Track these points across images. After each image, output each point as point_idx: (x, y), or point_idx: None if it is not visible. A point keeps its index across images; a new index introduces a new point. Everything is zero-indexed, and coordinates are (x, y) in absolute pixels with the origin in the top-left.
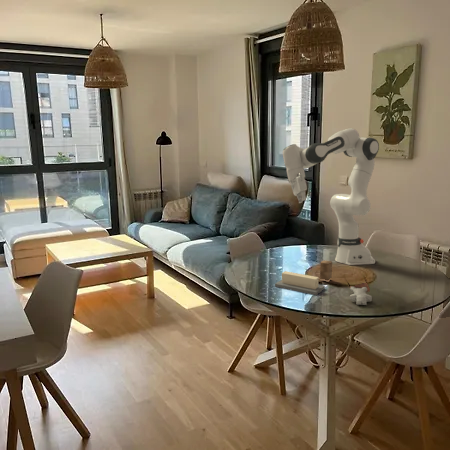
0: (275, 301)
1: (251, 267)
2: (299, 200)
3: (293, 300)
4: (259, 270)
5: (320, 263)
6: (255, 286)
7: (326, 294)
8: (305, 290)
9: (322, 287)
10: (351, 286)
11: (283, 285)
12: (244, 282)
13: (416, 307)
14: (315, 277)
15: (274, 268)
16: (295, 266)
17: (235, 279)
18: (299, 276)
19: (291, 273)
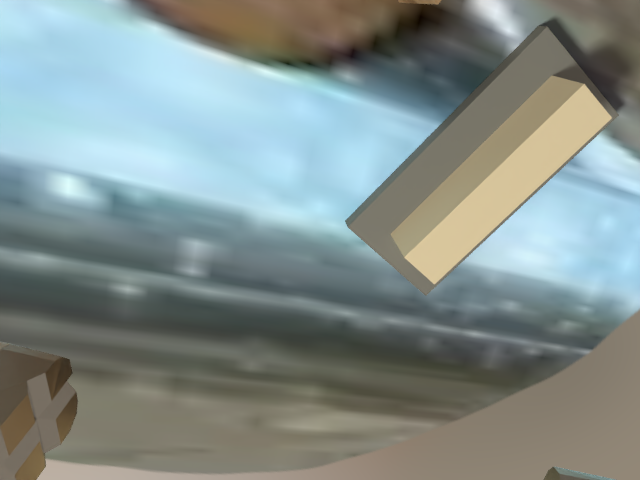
0: (605, 321)
1: None
2: (41, 467)
3: (626, 243)
4: (126, 322)
5: (435, 3)
6: (393, 375)
7: (619, 49)
8: (565, 162)
9: (566, 51)
10: None
11: (463, 259)
12: (323, 416)
13: None
14: (580, 105)
15: (91, 228)
16: (51, 73)
17: (269, 450)
18: (525, 197)
19: (459, 231)
